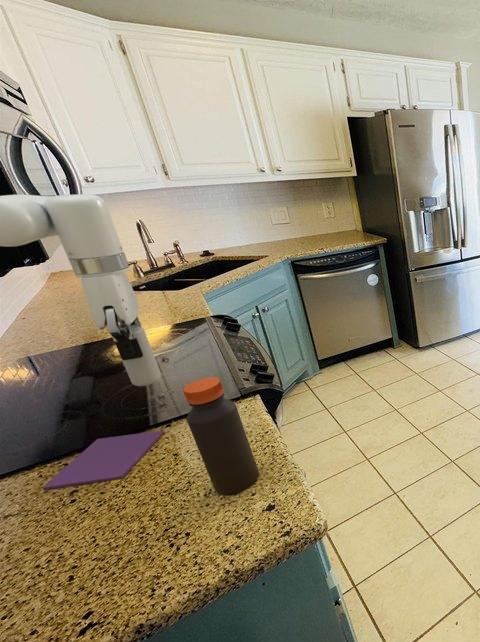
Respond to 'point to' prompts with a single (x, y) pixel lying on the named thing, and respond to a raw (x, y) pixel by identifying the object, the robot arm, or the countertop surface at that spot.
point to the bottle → (220, 437)
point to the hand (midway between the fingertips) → (136, 352)
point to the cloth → (105, 460)
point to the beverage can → (142, 361)
